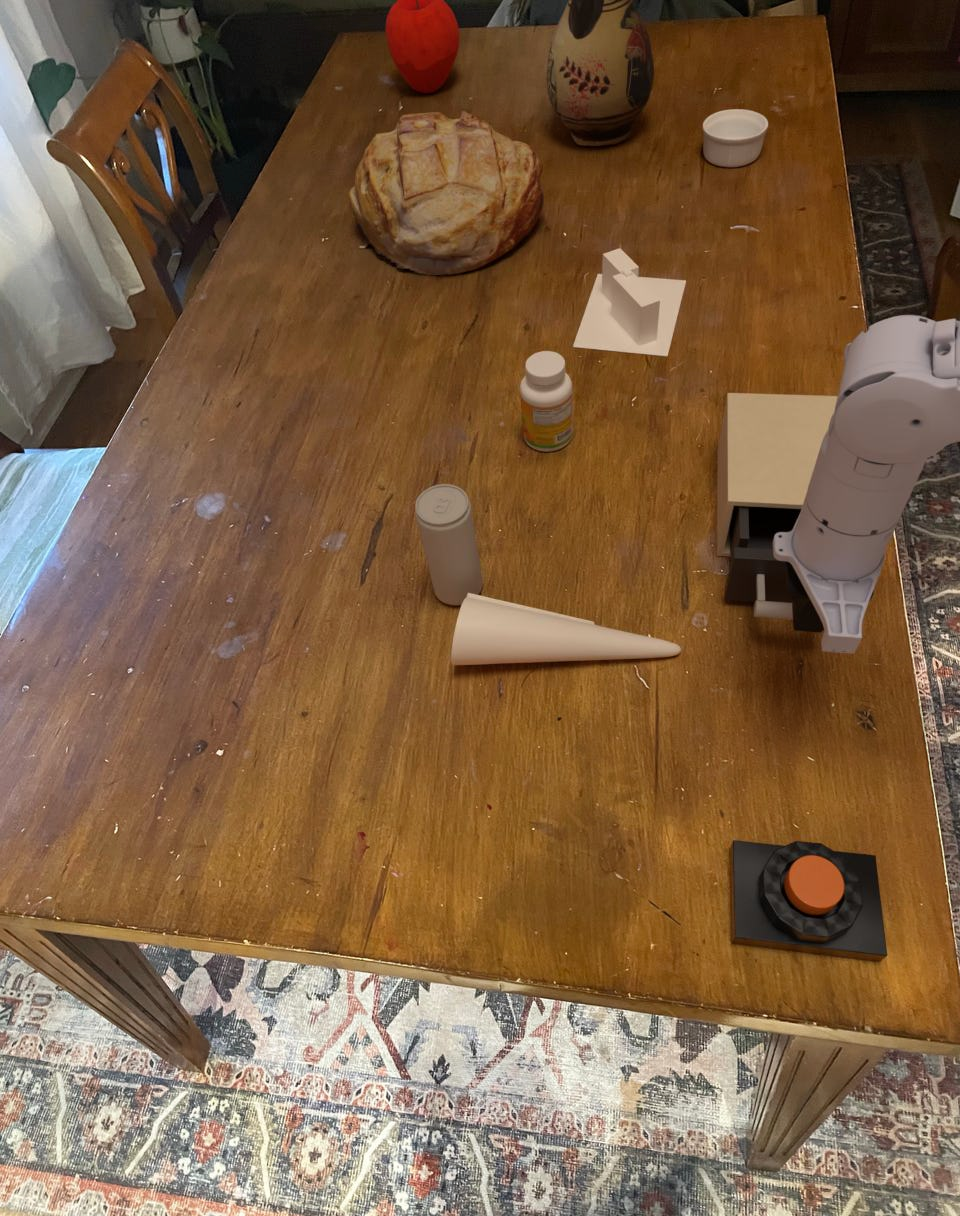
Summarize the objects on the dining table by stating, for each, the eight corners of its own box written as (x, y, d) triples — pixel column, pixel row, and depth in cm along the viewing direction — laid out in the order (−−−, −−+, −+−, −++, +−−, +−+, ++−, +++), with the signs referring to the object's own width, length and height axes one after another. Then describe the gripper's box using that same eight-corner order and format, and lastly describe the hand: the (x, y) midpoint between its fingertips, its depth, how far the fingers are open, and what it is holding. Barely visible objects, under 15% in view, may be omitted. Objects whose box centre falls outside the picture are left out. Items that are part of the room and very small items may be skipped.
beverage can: (490, 574, 82) (477, 488, 72) (473, 613, 79) (458, 529, 70) (444, 564, 83) (425, 478, 73) (426, 602, 81) (404, 519, 71)
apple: (477, 77, 145) (468, -15, 134) (440, 108, 139) (427, 15, 128) (419, 68, 149) (406, -22, 138) (381, 98, 144) (365, 7, 133)
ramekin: (687, 160, 122) (690, 129, 119) (720, 133, 126) (724, 102, 122) (742, 176, 118) (747, 145, 115) (774, 148, 122) (780, 117, 118)
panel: (869, 862, 63) (882, 846, 60) (880, 962, 59) (895, 949, 56) (729, 847, 64) (736, 830, 61) (731, 943, 60) (738, 930, 58)
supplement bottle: (526, 418, 94) (521, 345, 86) (574, 419, 93) (574, 346, 85) (520, 452, 91) (515, 380, 83) (571, 454, 90) (570, 381, 82)
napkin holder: (669, 356, 98) (673, 313, 93) (572, 347, 100) (571, 305, 96) (686, 279, 106) (691, 237, 101) (596, 273, 109) (596, 231, 104)
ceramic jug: (592, 99, 136) (594, -143, 112) (670, 124, 129) (691, -128, 104) (520, 144, 130) (506, -102, 105) (598, 173, 123) (602, -83, 98)
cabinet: (841, 563, 78) (863, 507, 72) (716, 556, 80) (727, 500, 74) (830, 455, 86) (849, 396, 80) (717, 450, 88) (727, 392, 82)
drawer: (845, 648, 72) (864, 606, 67) (724, 638, 74) (734, 597, 69) (830, 497, 82) (846, 451, 77) (724, 491, 84) (733, 446, 79)
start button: (835, 866, 60) (842, 858, 58) (840, 918, 58) (846, 911, 56) (782, 860, 60) (787, 852, 59) (785, 912, 58) (790, 904, 57)
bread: (406, 177, 130) (380, 71, 118) (573, 187, 120) (562, 71, 108) (324, 270, 118) (286, 162, 106) (501, 290, 108) (480, 173, 96)
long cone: (669, 721, 73) (450, 678, 75) (674, 663, 77) (466, 623, 79) (683, 683, 68) (450, 638, 71) (688, 623, 72) (467, 582, 75)
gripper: (782, 420, 58) (750, 546, 69) (792, 589, 50) (754, 702, 61) (892, 423, 57) (842, 552, 68) (921, 598, 49) (858, 712, 60)
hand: (807, 624), depth 64 cm, fingers closed
